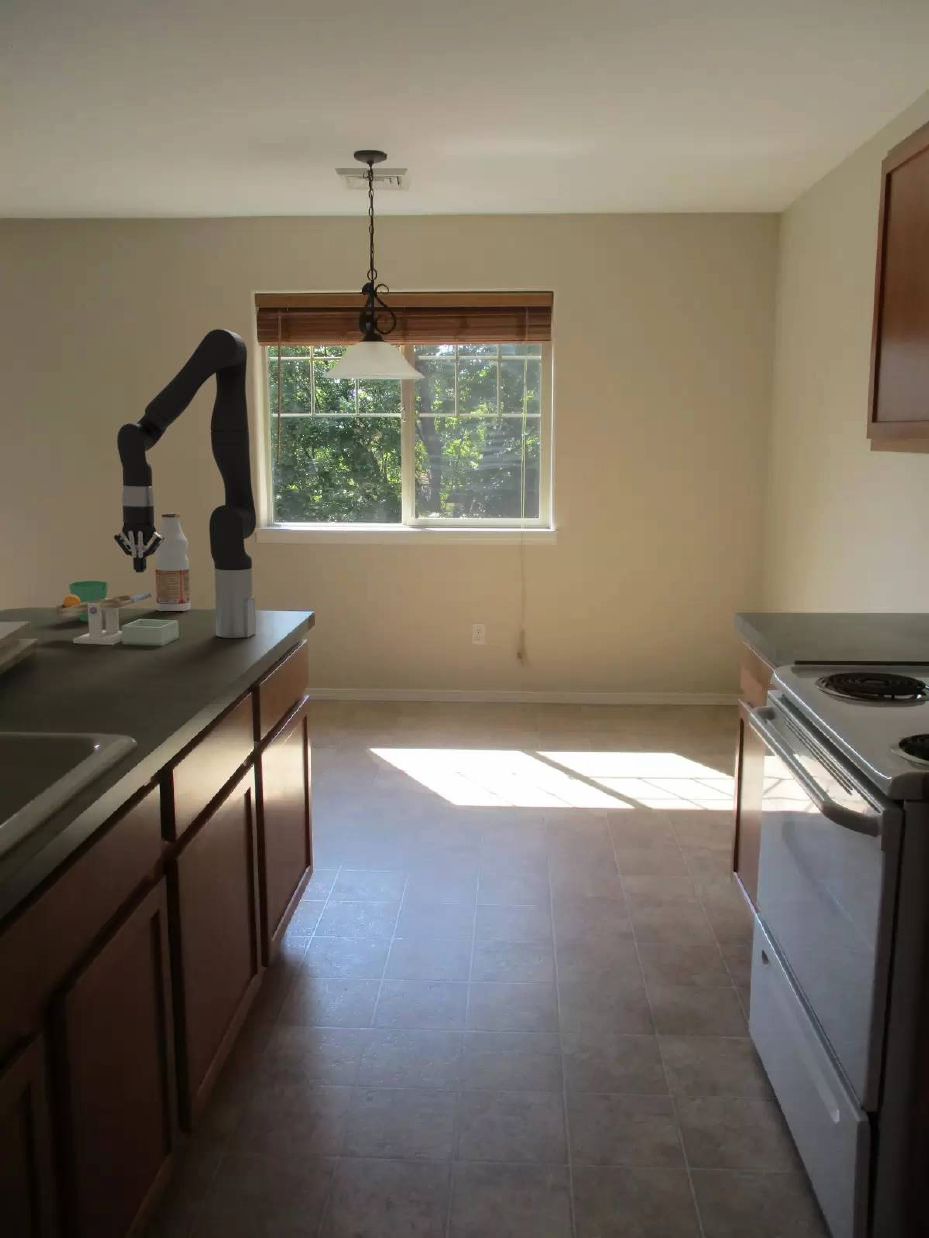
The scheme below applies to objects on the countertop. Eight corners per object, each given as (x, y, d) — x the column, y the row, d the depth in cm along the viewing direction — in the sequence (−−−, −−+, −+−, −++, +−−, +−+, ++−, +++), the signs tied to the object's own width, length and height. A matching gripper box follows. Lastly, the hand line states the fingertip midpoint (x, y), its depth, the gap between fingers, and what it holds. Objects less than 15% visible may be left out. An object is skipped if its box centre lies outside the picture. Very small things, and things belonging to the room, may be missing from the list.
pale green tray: (178, 638, 252) (178, 620, 251) (161, 646, 242) (161, 627, 241) (140, 636, 253) (139, 618, 252) (122, 644, 243) (121, 626, 242)
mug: (107, 622, 271) (106, 585, 269) (68, 623, 268) (66, 586, 266) (112, 613, 285) (110, 578, 283) (75, 614, 282) (73, 578, 280)
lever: (151, 596, 260) (148, 585, 259) (121, 607, 243) (118, 594, 243) (91, 607, 262) (88, 596, 262) (57, 618, 246) (54, 606, 245)
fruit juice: (164, 613, 285) (161, 514, 280) (151, 609, 293) (148, 512, 288) (195, 610, 291) (193, 513, 286) (182, 606, 298) (179, 511, 294)
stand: (134, 635, 254) (133, 598, 252) (112, 644, 242) (110, 605, 241) (97, 633, 255) (95, 596, 254) (73, 643, 244) (71, 604, 242)
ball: (85, 608, 250) (82, 592, 250) (77, 611, 246) (74, 595, 246) (70, 609, 251) (67, 594, 250) (61, 612, 247) (58, 596, 246)
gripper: (169, 504, 257) (170, 571, 260) (120, 502, 258) (122, 569, 261) (156, 506, 249) (158, 575, 252) (106, 503, 251) (108, 572, 254)
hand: (139, 572), depth 257 cm, fingers closed
